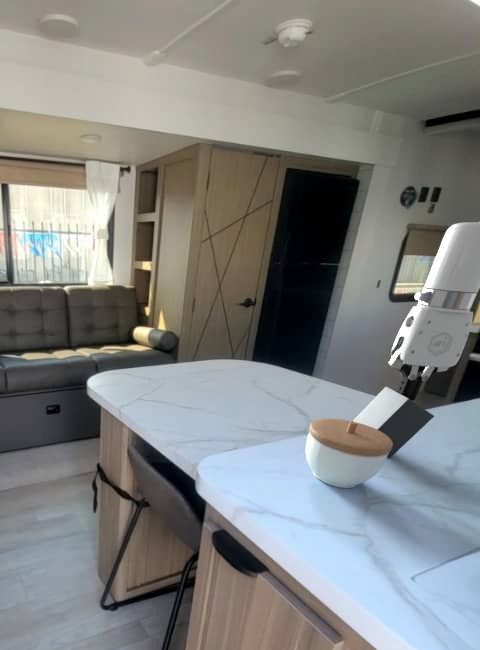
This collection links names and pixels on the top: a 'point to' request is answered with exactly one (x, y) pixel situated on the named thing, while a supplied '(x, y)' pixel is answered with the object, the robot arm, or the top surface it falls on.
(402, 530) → the top surface
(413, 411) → the dark grey brick
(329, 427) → the lidded bowl
